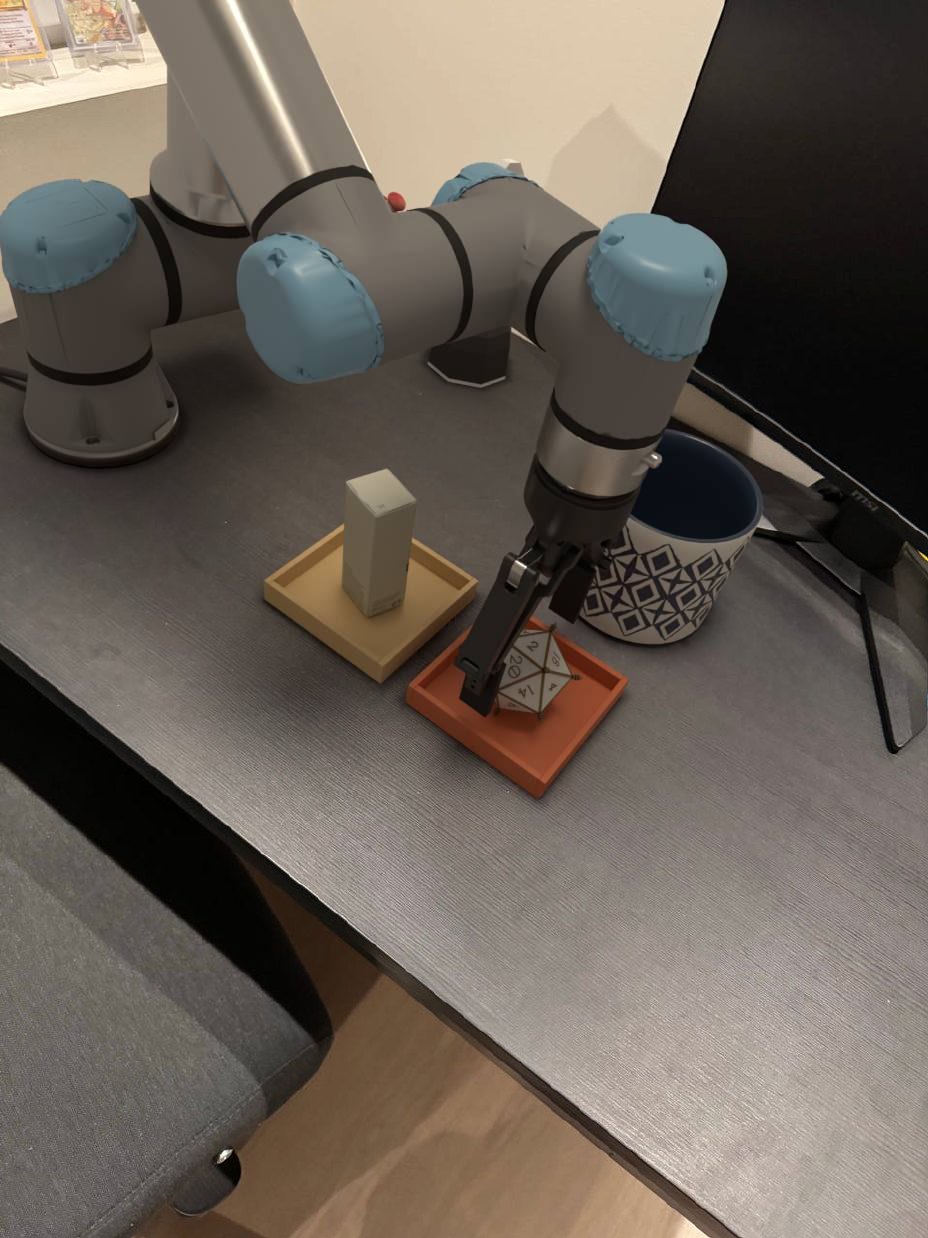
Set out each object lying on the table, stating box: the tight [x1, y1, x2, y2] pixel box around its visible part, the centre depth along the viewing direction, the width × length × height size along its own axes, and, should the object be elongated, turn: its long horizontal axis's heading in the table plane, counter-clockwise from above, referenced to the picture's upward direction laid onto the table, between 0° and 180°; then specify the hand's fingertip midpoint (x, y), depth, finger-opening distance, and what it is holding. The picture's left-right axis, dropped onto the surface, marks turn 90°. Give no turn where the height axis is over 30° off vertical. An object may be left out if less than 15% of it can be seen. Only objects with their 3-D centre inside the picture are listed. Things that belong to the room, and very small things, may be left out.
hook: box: [427, 158, 525, 389], centre depth 100 cm, size 11×11×25 cm
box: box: [342, 468, 418, 618], centre depth 75 cm, size 5×4×13 cm
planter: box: [579, 428, 764, 645], centre depth 82 cm, size 16×16×14 cm
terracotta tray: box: [405, 615, 630, 800], centre depth 75 cm, size 14×14×3 cm
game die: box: [493, 622, 583, 723], centre depth 72 cm, size 9×8×10 cm
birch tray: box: [263, 523, 479, 684], centre depth 80 cm, size 14×14×3 cm
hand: (520, 657), depth 72 cm, fingers open, 13 cm apart
